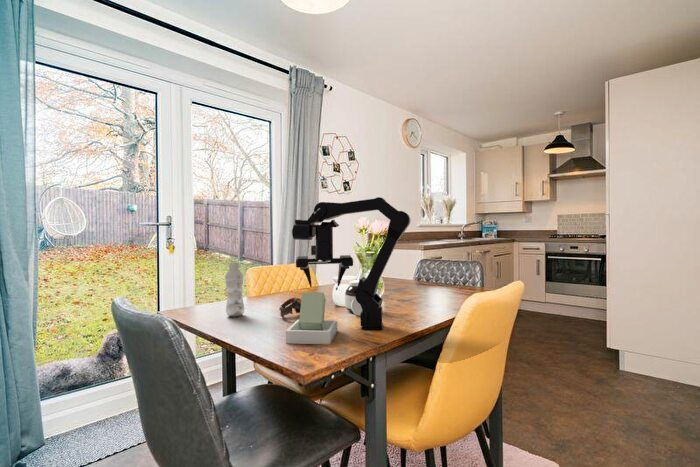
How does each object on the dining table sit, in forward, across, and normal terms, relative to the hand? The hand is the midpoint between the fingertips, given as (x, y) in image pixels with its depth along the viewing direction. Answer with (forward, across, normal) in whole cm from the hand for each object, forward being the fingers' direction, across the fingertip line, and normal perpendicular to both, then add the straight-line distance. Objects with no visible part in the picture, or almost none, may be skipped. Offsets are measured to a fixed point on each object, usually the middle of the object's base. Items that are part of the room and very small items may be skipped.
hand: (324, 286), depth 119 cm
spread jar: (+14, -14, -12) cm, 23 cm away
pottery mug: (+14, +10, -10) cm, 20 cm away
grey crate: (+11, +4, +15) cm, 19 cm away
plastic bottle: (+15, +33, -16) cm, 39 cm away
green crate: (+9, +5, +14) cm, 17 cm away
